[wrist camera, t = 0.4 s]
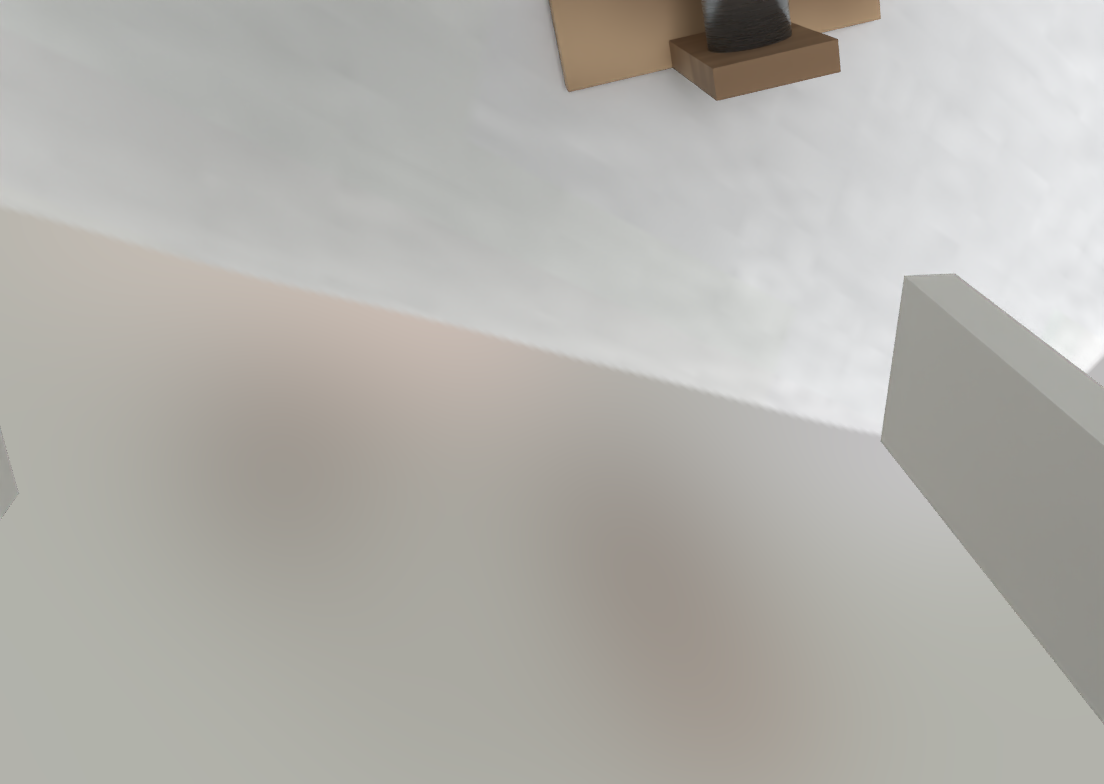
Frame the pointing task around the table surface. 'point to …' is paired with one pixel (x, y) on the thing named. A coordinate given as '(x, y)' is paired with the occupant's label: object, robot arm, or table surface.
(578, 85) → the base board
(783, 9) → the pipe
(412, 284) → the table surface
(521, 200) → the table surface
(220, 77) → the table surface
